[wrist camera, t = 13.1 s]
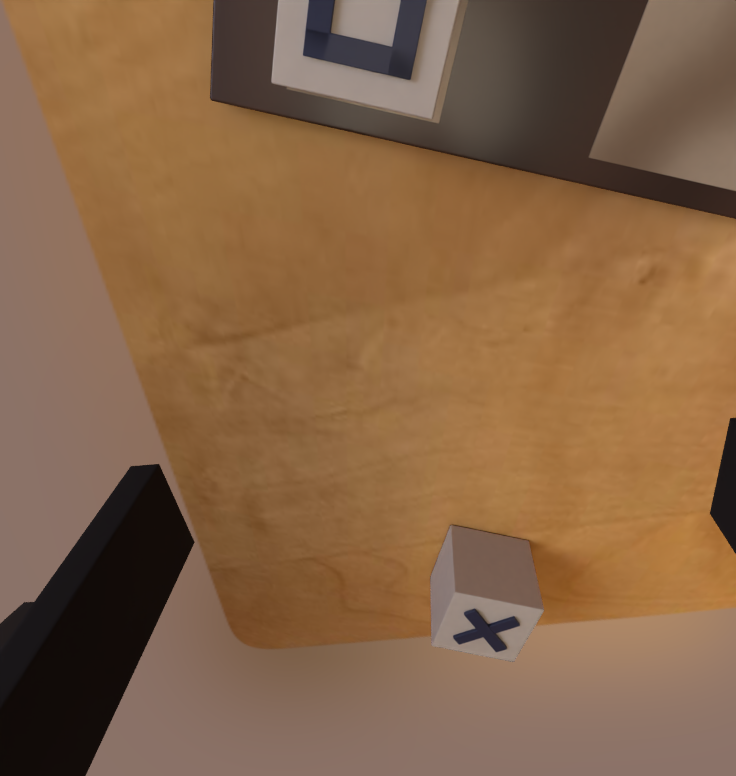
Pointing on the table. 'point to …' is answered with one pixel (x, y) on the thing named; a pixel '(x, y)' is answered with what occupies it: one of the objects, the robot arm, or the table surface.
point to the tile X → (484, 594)
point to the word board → (544, 92)
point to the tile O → (366, 50)
